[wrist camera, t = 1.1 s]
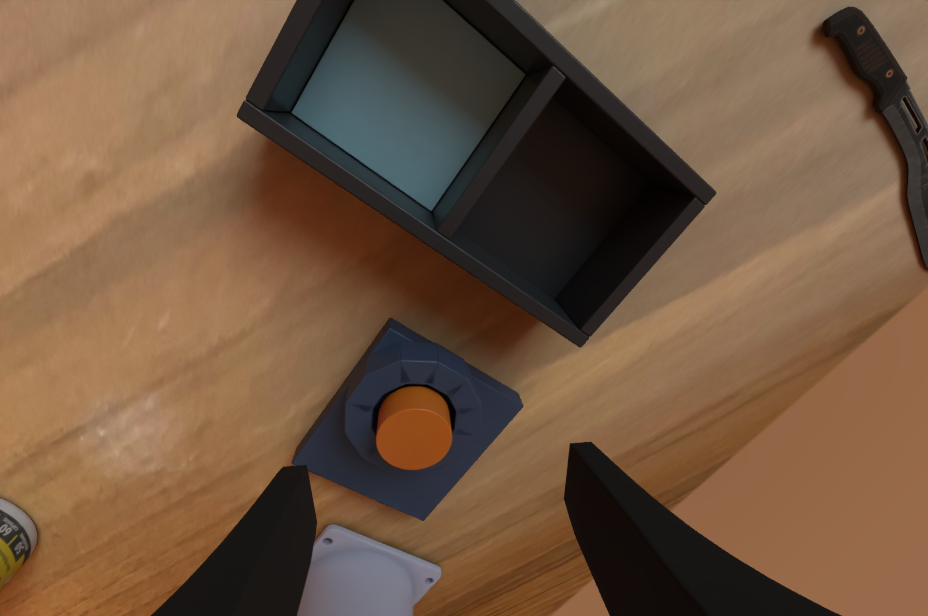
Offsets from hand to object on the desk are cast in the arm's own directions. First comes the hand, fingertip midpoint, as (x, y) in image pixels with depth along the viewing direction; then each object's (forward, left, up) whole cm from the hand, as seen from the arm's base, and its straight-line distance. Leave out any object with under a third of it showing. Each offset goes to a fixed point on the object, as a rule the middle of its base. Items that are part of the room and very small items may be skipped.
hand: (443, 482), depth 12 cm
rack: (+8, +3, -10) cm, 13 cm away
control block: (-5, -2, -10) cm, 12 cm away
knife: (+18, -13, -10) cm, 24 cm away
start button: (-3, -1, -7) cm, 8 cm away
